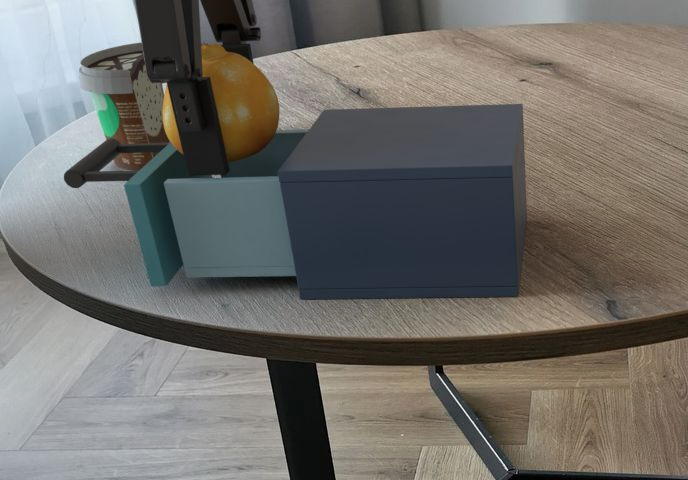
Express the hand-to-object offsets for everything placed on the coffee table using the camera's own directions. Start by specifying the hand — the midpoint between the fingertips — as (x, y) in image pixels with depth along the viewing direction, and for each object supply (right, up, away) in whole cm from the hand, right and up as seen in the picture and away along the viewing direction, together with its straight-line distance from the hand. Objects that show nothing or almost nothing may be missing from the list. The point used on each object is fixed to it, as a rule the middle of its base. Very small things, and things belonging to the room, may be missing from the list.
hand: (229, 150), depth 70 cm
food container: (-17, +5, +27) cm, 33 cm away
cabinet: (+14, -7, +3) cm, 16 cm away
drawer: (-1, -7, +4) cm, 8 cm away
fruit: (0, 0, 0) cm, 1 cm away
